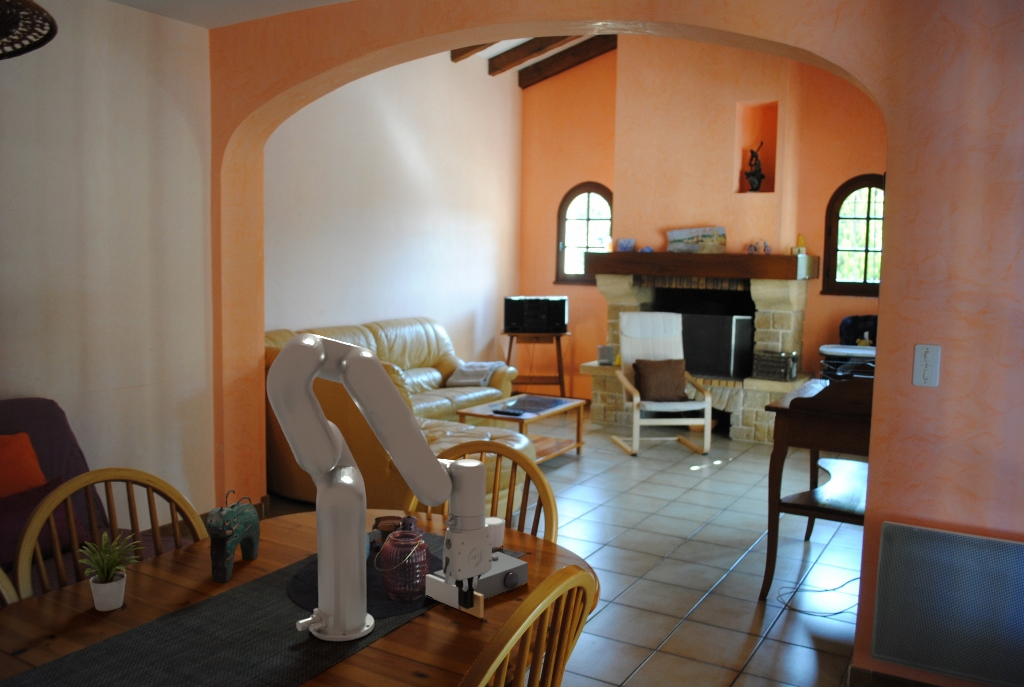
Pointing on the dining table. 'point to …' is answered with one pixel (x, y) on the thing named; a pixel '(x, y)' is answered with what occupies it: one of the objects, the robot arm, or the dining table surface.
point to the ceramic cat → (232, 536)
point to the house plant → (108, 572)
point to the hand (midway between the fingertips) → (465, 606)
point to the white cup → (496, 530)
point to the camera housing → (499, 575)
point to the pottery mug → (386, 526)
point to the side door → (452, 595)
